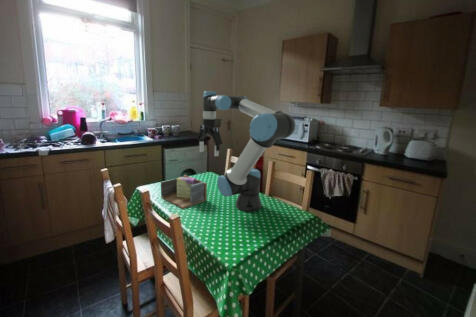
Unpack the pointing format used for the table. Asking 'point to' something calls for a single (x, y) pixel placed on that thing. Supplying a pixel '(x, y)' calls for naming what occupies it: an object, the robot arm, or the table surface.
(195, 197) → the grey brown open container
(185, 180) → the box
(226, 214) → the table surface
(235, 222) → the table surface
